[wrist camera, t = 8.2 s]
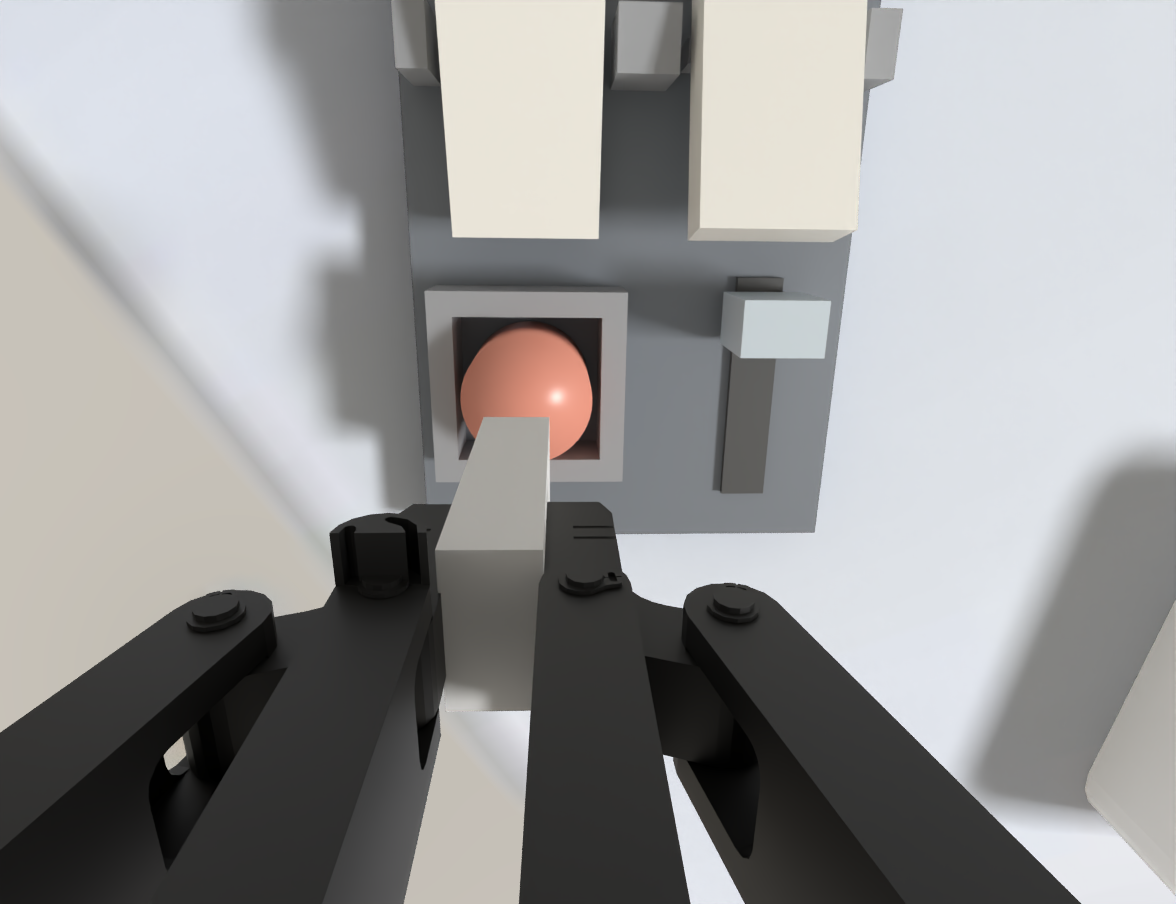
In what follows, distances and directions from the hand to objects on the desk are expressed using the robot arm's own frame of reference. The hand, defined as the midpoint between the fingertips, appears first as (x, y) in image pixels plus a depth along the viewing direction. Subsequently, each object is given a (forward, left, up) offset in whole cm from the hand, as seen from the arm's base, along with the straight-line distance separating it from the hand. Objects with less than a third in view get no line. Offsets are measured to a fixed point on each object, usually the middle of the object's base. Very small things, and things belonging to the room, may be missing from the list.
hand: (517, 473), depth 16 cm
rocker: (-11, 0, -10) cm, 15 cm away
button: (0, 0, -12) cm, 12 cm away
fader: (-2, +9, -12) cm, 15 cm away
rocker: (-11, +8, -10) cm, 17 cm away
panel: (-5, +4, -15) cm, 16 cm away
